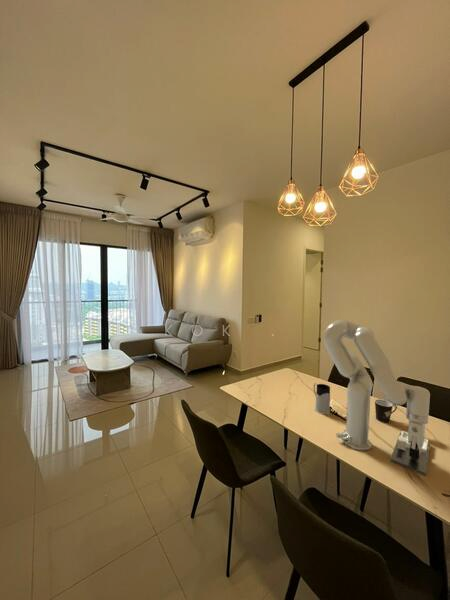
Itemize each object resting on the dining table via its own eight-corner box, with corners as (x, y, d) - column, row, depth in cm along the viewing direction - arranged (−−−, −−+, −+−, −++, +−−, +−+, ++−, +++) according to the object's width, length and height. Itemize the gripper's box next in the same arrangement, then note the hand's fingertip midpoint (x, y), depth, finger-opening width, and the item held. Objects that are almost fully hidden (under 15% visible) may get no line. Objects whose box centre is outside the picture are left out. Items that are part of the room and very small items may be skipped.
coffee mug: (375, 422, 140) (376, 404, 139) (372, 414, 148) (373, 398, 147) (400, 426, 136) (401, 408, 135) (395, 418, 144) (396, 401, 143)
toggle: (405, 450, 113) (405, 442, 113) (397, 447, 115) (397, 439, 115) (406, 446, 116) (407, 438, 116) (398, 443, 118) (399, 435, 118)
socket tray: (426, 453, 113) (426, 450, 113) (398, 443, 120) (399, 440, 119) (427, 442, 120) (428, 439, 120) (402, 433, 127) (402, 430, 127)
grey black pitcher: (319, 415, 146) (321, 390, 145) (307, 403, 160) (308, 380, 159) (333, 413, 148) (334, 389, 147) (319, 402, 162) (320, 379, 161)
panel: (425, 476, 101) (425, 472, 101) (390, 461, 109) (390, 458, 109) (430, 445, 120) (430, 442, 120) (400, 434, 128) (400, 432, 128)
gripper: (426, 426, 99) (423, 470, 101) (429, 412, 110) (426, 452, 111) (403, 419, 104) (400, 461, 106) (408, 406, 115) (406, 445, 117)
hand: (414, 456), depth 109 cm, fingers closed
